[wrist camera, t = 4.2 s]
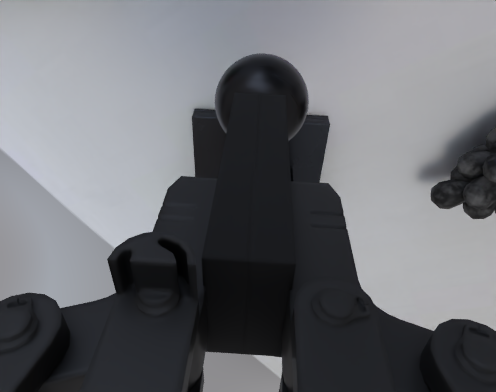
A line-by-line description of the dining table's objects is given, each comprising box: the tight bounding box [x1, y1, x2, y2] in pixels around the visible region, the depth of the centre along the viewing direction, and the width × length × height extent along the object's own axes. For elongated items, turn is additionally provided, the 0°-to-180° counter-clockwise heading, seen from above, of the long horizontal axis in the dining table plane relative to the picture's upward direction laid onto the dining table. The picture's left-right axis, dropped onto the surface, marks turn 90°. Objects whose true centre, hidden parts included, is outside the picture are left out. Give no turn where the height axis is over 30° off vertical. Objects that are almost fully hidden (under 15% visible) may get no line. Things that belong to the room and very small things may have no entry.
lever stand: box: [192, 109, 330, 357], centre depth 25 cm, size 12×9×13 cm
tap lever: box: [215, 54, 309, 141], centre depth 17 cm, size 15×3×3 cm, turn 178°
